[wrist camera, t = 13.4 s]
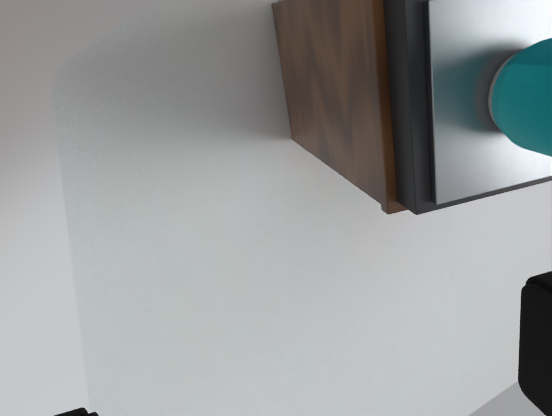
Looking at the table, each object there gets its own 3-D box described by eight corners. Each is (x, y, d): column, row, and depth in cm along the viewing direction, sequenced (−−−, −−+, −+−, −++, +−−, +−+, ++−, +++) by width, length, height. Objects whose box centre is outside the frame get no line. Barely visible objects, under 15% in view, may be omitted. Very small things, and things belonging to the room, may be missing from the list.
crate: (269, 2, 47) (368, -33, 25) (401, -20, 49) (599, -70, 27) (290, 141, 52) (387, 215, 30) (409, 116, 55) (580, 166, 32)
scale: (381, -21, 25) (408, -28, 23) (587, -55, 27) (636, -66, 25) (397, 202, 30) (421, 218, 27) (572, 159, 32) (611, 170, 29)
